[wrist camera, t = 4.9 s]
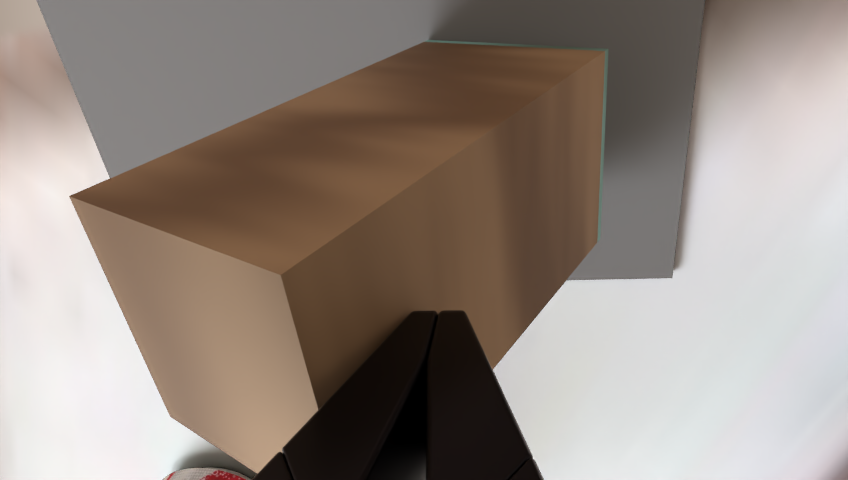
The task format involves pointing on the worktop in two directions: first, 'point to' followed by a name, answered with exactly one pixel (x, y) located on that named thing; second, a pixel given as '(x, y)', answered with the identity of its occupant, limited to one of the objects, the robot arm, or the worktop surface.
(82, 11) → the mat
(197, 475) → the beverage can
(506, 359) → the worktop surface
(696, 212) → the worktop surface
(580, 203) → the walnut block
